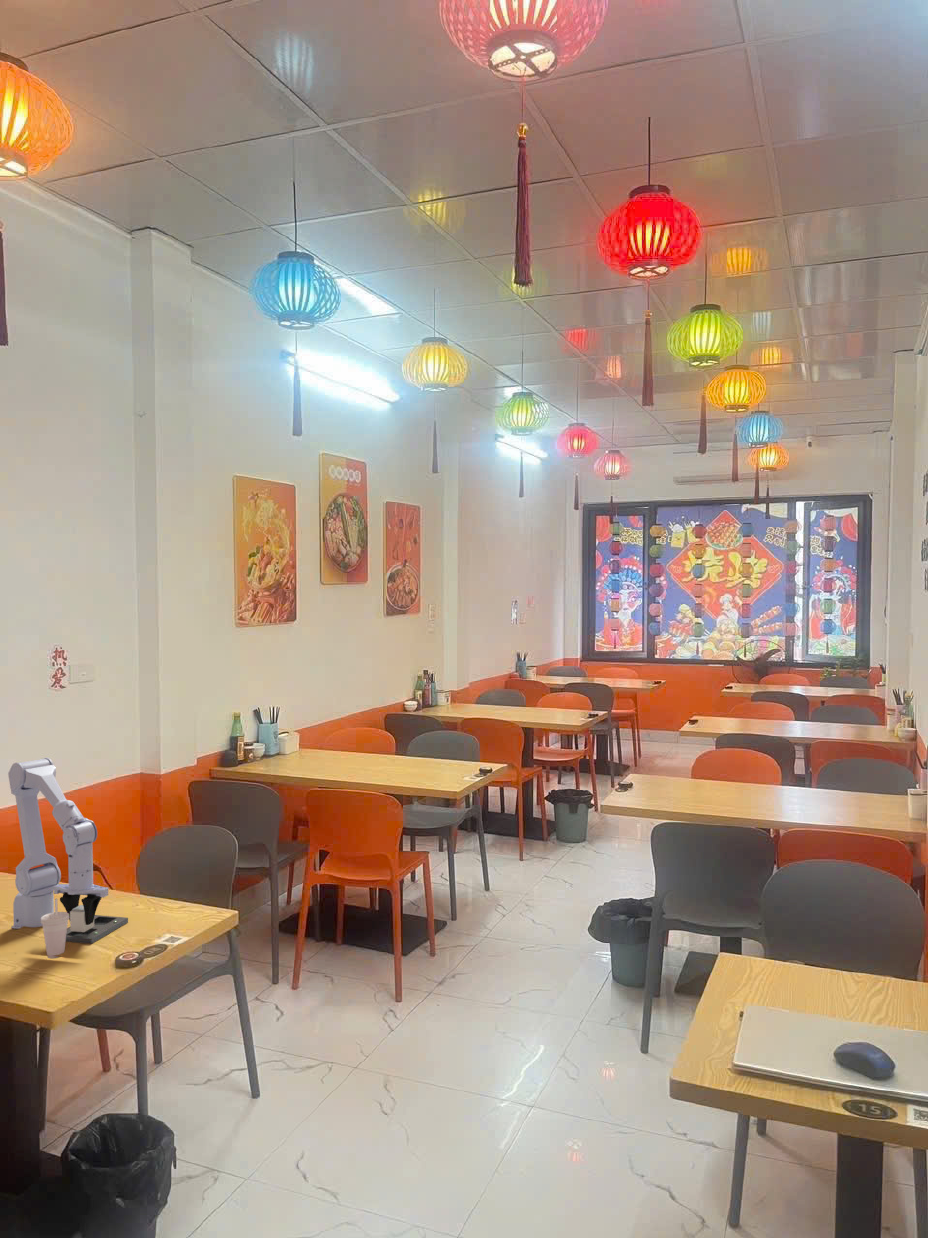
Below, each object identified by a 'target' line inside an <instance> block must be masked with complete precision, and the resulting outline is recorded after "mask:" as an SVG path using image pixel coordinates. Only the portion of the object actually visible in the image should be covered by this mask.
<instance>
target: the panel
mask: <svg viewBox="0 0 928 1238" xmlns="http://www.w3.org/2000/svg"><path fill="white" fill-rule="evenodd" d="M128 923H129V918H128V917H125V916H124V917H123V916H121V917H120V916H111V915H98V914H95V916H94V927H93V928H91V929H89V930H87V931H85V932H75V931H70V926H69V927H68V926H67V933H66V942H69V943H77V944H78V943H79V944H89V945H93V944H94V943H96V942H98V941H100V940H101V939H104V937H106V936H108V935H110V934H111V933H112V932H114V931H117V930H118V929H119V928H121V927H123V926H124V925H126V924H128ZM66 942H65V943H66Z"/></svg>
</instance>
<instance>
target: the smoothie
mask: <svg viewBox="0 0 928 1238" xmlns="http://www.w3.org/2000/svg"><path fill="white" fill-rule="evenodd" d="M69 918H70V917H69V913H67V911H58V898H54V913H49V914H46V915H44V916H42V917H41V924H42V925H43V926H42V929H43V936H44V944H45V950H46V956H47V958H48V959H59V958H60V956H58V955H62V954H63V953H64V952H65V948H66V933H67V928H68V922H69V921H70V920H69Z"/></svg>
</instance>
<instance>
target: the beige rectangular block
mask: <svg viewBox="0 0 928 1238" xmlns="http://www.w3.org/2000/svg"><path fill="white" fill-rule="evenodd" d="M69 924H70V926H69V927H70V931H75V932H85V931H87V930H89V929H91V928H93V927H94V920H93V923H91V924H89V925H86V922H85V911H84V906H83V904H80V905H79V906H77V907H76V908H74V909H72V911H70V920H69Z"/></svg>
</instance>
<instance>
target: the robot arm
mask: <svg viewBox="0 0 928 1238" xmlns="http://www.w3.org/2000/svg"><path fill="white" fill-rule="evenodd" d="M7 775H8V781H9V788H10V793H11V795H13V796H14V798H15V802H16V808H17V815H18V821H19V829H20V835H21V841H22V845H23V854H24V858H23V859H22V860H21V861H20V862H19V864H18V865H17V866H16V867H15V882H14V883H15V888H16V890H17V892H18V893H17V894H16V895H15V897H14V900H13V905H12V906H13V909H12V910H13V925H11V929H13V930H15V929H17V930H20V929H22V928H23V927H27V928H40V927H43V925H42V924H41V917H42V916H44V915H46V914H49V913H54V912H55V898H54V894H55V895H59V894H63V895H62V896H61V897H59V901H60V903H61V904H62V906H63V907H64V909H65V910H66V911H65V912H67V913H69V917H70V911H72V909H74V908H76V907H77V906H79V904H80V901H81V903H82V905H83V906H84V911H85V922H86V925H89V924H91V923H93V920H94V916H95V915H96V911H97V908H98V907H99V903H100V902H101V900H102V898H103V899H104V898H105V897H107V896H109V887H105V886H100V885H97V884H94V865H93V863H94V862H93V861H94V860H93V859H94V855H93V852H94V851H93V843H95V842H96V840H97V838H98V828H97V826H96V824H95V822H94V821H93V820H91V819H88V818H87V817H84V815H83V814H82V812H81V811H80V809H79V808H78V806H77V805H76V804H75V802H74V801H73V800H69V799H67V798H66V796H65V794H64V792H63V790H62V789H61V786H60V784H59V782H58V780H57V779H56V775H57V769H56V766H55V762H53V760H52V759H51V758H50V757H44V758H40V759H35V760H34V759H33V760H27V761H22V762H14V763H12V765H11V767H10V769H9V771H8V774H7ZM39 793H41V794H42V795H43V796H44V797H45V799H46V801H48V802H49V804H50V805H51V806H52V808H53V809H52V813H51V814H52V816H53V818H54V819H55V821H56V823H57V824H58V825H59V827H60V829H61V830H62V832H63V834H62V841H63V843H64V846H65V853H66V855H68V856H67V859H68V869H67V870H68V883H66V884H65V883H64V884H63V883H60V882H61V877H62V873H61V869H60V867H59V866H58V861H57V858H56V857H54V856H52V855H51V854H49V853H47V851H46V844H45V838H44V837H45V836H44V832H43V825H42V819H41V813H40V807H39V799H38V795H39ZM40 865H41V866H40ZM81 896H85V897H83V898H82V899H81ZM80 899H81V900H80ZM68 921H70V918H69V920H68Z"/></svg>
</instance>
